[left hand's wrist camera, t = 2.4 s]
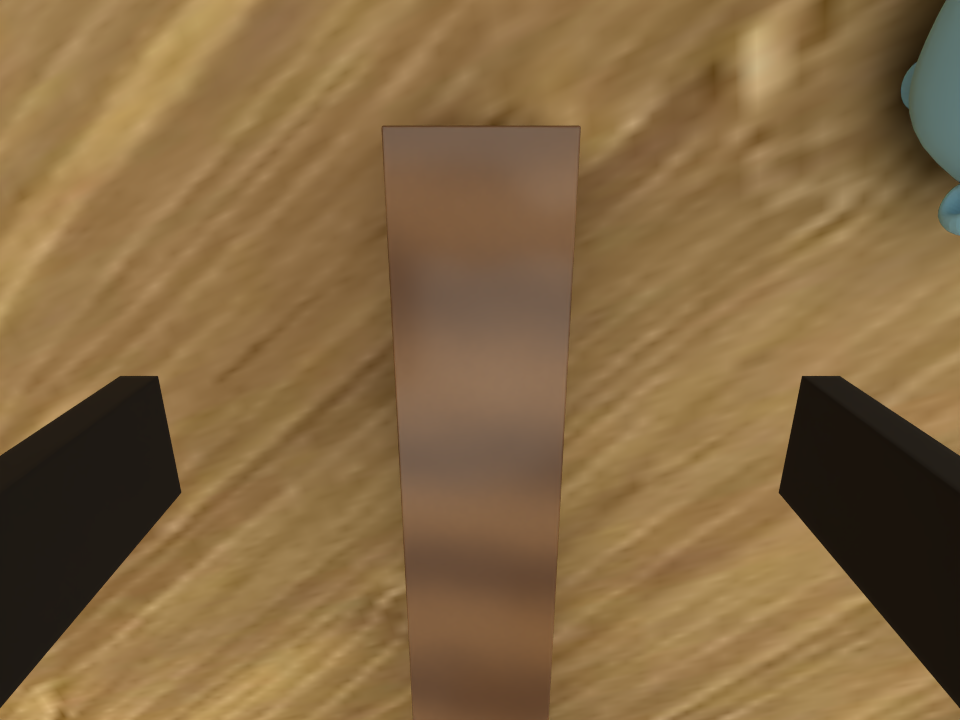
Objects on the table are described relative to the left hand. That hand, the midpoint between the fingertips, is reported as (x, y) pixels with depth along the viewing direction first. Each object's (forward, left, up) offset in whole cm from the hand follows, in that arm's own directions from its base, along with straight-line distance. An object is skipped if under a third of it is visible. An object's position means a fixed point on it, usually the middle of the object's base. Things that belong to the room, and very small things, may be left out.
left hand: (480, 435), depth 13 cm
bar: (+14, -25, -17) cm, 33 cm away
